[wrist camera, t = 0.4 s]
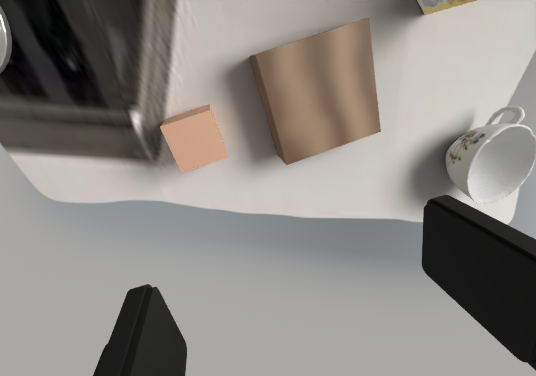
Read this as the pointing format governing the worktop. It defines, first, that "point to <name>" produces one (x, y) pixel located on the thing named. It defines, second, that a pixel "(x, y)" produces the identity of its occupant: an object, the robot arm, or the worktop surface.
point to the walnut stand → (319, 91)
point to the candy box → (439, 4)
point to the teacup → (492, 158)
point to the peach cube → (194, 138)
